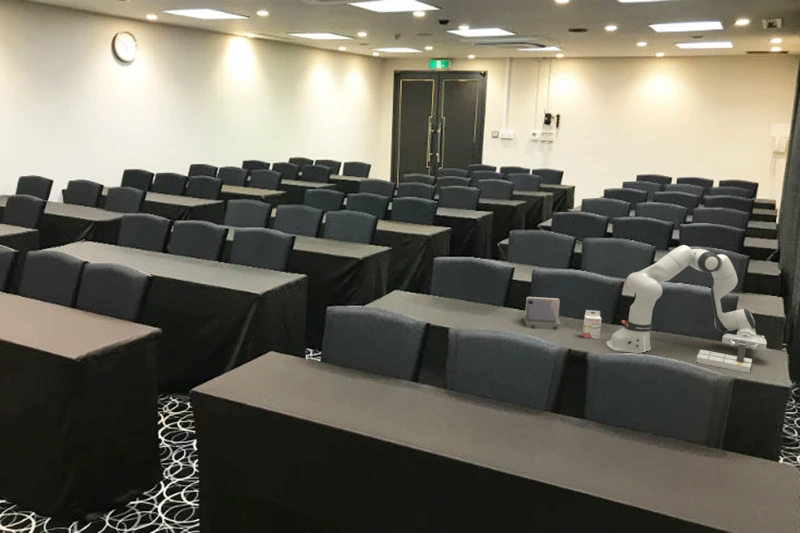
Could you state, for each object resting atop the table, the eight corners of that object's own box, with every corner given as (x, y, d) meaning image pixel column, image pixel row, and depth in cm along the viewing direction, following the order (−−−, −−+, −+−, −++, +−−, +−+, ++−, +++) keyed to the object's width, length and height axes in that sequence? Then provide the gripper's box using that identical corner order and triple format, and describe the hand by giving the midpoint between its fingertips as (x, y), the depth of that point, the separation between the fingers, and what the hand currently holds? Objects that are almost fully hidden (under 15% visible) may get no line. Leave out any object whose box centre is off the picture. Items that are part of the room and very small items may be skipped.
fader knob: (735, 364, 339) (739, 341, 337) (736, 362, 343) (739, 339, 340) (742, 366, 338) (746, 343, 335) (743, 363, 342) (746, 340, 339)
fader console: (696, 362, 344) (697, 356, 343) (699, 354, 356) (700, 349, 355) (749, 373, 333) (750, 367, 332) (751, 364, 344) (752, 358, 343)
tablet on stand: (560, 321, 406) (562, 296, 402) (560, 331, 386) (562, 306, 383) (524, 317, 410) (526, 293, 407) (521, 327, 390) (524, 302, 387)
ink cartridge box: (583, 338, 376) (586, 312, 372) (582, 335, 380) (584, 309, 377) (599, 339, 375) (602, 313, 371) (598, 336, 380) (600, 310, 376)
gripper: (723, 329, 359) (721, 336, 348) (767, 336, 350) (766, 343, 338) (722, 340, 361) (719, 347, 349) (766, 348, 351) (764, 356, 339)
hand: (743, 346), depth 343 cm, fingers open, 8 cm apart
